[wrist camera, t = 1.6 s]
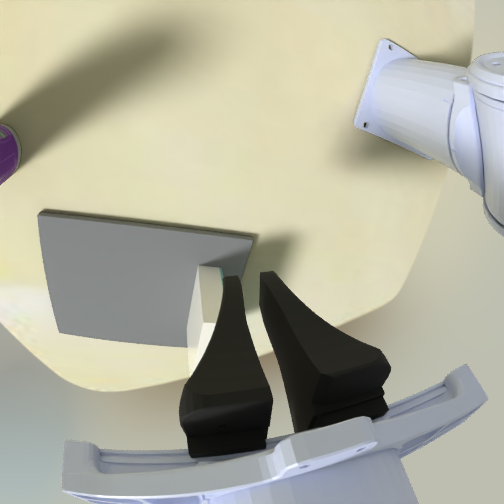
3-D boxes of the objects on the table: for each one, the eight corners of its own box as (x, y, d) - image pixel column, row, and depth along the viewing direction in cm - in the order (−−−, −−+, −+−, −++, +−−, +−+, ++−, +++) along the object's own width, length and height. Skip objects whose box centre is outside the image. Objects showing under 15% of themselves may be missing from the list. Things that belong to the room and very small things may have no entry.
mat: (251, 236, 25) (253, 240, 24) (219, 344, 32) (220, 349, 32) (40, 211, 20) (37, 215, 19) (60, 328, 27) (59, 332, 26)
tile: (221, 267, 25) (232, 324, 20) (206, 330, 29) (212, 383, 24) (198, 265, 25) (203, 322, 20) (186, 329, 29) (190, 383, 24)
